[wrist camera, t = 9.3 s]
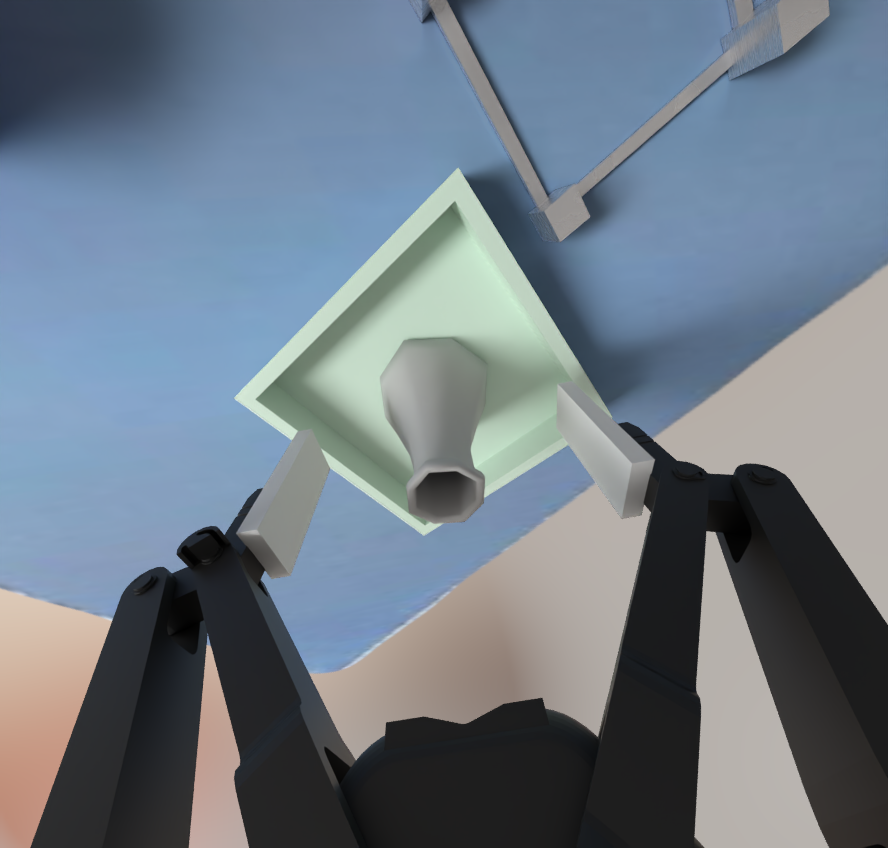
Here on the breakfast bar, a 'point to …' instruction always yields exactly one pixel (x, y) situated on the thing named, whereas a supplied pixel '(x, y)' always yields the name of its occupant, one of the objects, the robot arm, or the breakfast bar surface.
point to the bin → (415, 318)
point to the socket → (745, 47)
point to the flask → (437, 424)
